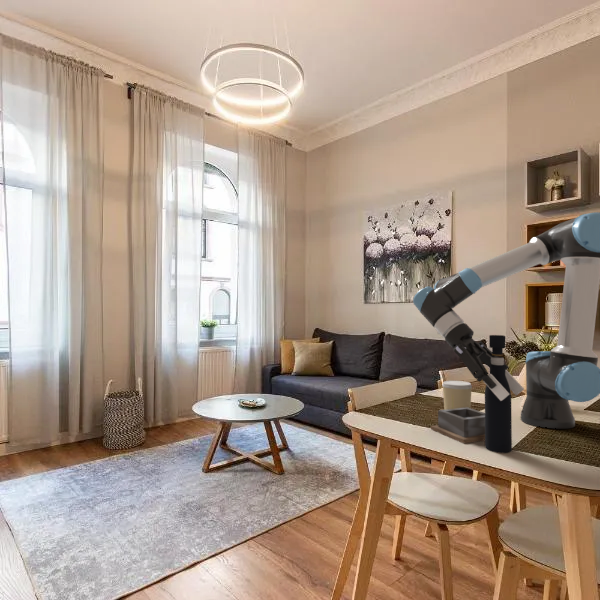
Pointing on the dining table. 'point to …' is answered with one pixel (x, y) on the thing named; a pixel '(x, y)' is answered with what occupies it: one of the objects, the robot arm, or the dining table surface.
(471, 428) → the collar stand
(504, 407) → the wine bottle
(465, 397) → the coffee cup
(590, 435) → the dining table surface
